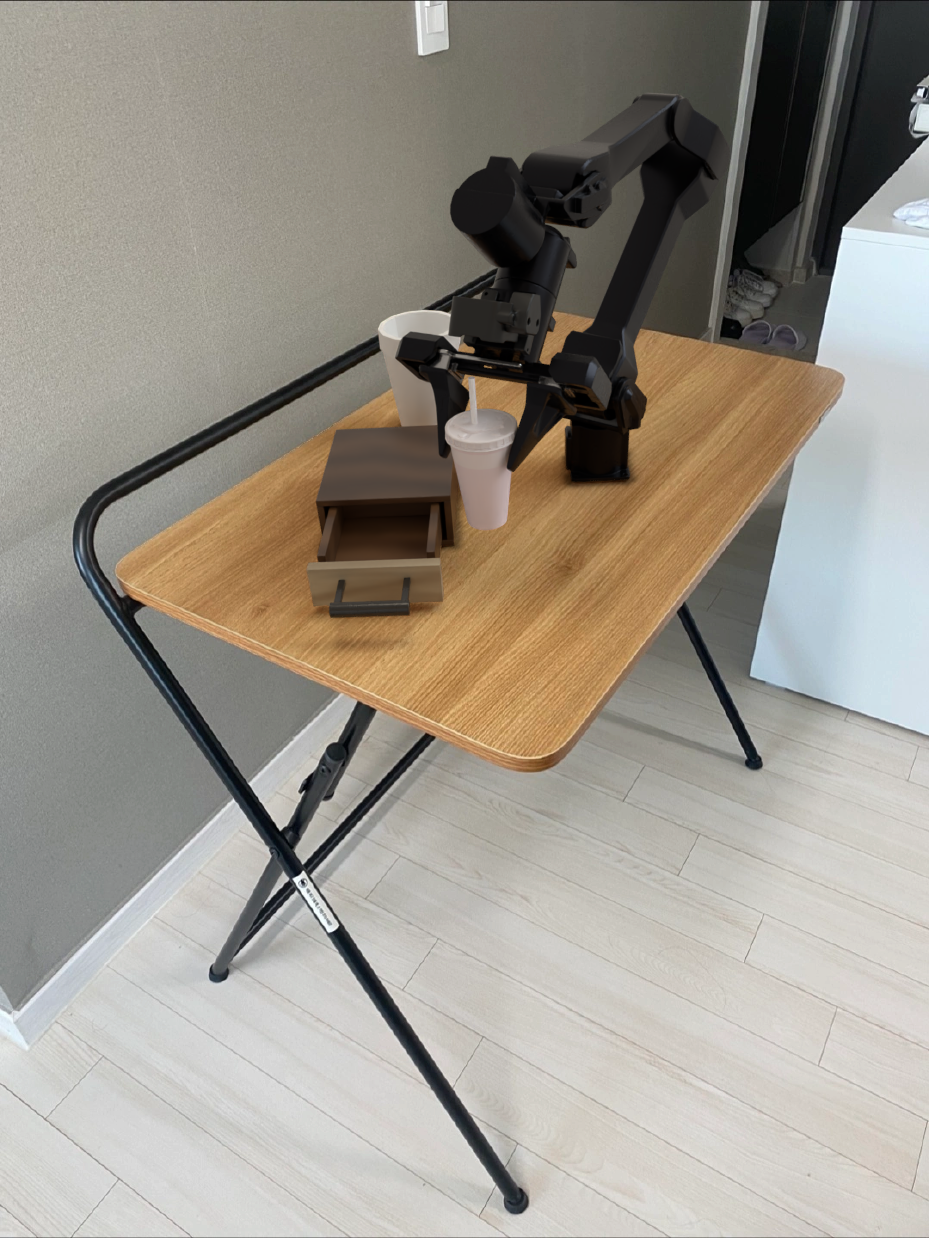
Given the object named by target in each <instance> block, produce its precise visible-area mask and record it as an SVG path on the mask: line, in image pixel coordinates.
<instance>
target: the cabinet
mask: <svg viewBox="0 0 929 1238" xmlns="http://www.w3.org/2000/svg"><path fill="white" fill-rule="evenodd" d="M458 491H459V482H458V477H457V473H456V468H455V464H454V460H453V456H452V451H450V453H449V455H448V457H447V458H446V459H445V458H442V457H441V456H440V455H439V450H438V431H437V425H427V426H405V427H402V426H388V427H387V426H385V427H361V428H342V429H341V428H340V429H339V428H338V429H335V432H334V435H333V439H332V443H331V446H330V449H329V453H328V456H327V460H326V464H325V466H324V470H323V474H322V477H321V481H320V484H319V488H318V492H317V494H316V499H315V506H316V511H317V517H318V522H319V528H320V533H321V536H322V535H323V531H324V527H325V523H326V519H327V516H328V512H329V508H330V506H348V505H374V504H399V503H424V502H442V506H443V529H442V541H441V547H445V546H446V547H447V546H448V547H450V546H455V541H456V526H457V511H458V510H457V509H458V494H459V492H458Z"/></svg>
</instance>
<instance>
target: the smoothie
mask: <svg viewBox="0 0 929 1238" xmlns="http://www.w3.org/2000/svg"><path fill="white" fill-rule="evenodd" d="M467 380H468V381H467V382H468V384H467V385H468V391H469V397H470V399H469V409H468V410H466V411H465V412H462V413H459V414H457V415H455V416H453V417H452V418H451V419H450V420H449V421H448V422H447V423H446V425H445V439H446V441H447V443H448V444H449V445H450V446H451V451H452V456H453V460H454V464H455V468H456V473H457V477H458V487H459V491H460V494H461V495H460V496H461V500H462V503H463V508H464V512H465V516H466V521H467V524H468V525H469V526H470V527H471V528H473V529H475V530H480V531H494V530H496V529H499V528H501V527H502V526H504V525H505V524H506V523H507V521H508V513H509V503H510V502H509V501H510V493H511V482H512V472H510V471H509V470H508V469H507V463H508V458H509V453H510V449H511V446H512V443H513V441H514V438H515V435H516V432H517V429H518V426H519V424H518V420H517V419H516V418H515V416H514V415H512V414H511V413H509V412H507V411H505V410H501V409H497V408H478V406H477V391H476V390H477V389H476V376H471V375H469V376H468V377H467Z"/></svg>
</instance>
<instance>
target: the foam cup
mask: <svg viewBox="0 0 929 1238" xmlns="http://www.w3.org/2000/svg"><path fill="white" fill-rule="evenodd" d="M450 316H451V313H448V312H446V311H443V310H429V309H420V310H410V311H404V312H400V313H398V314H394V315H391V316H389V317H387V318H386V319H384V320H382V321H381V322H380V323H379V326H378V328H377V334H378V343H379V350H380V351H381V352H382V355H383V357H384V363H385V367H386V370H387V375H388V378H389V382H390V387H391V390H392V394H393V398H394V402H395V407H396V410H397V414H398V418H399V423H400V425H401V426H400V427H405V426H427V425H437V412H436V403H435V397H434V392H433V389H432V386H431V383H430V382H425V381H423V380H420V379H418V378H417V377H416V376H415V375H414V374H412V373H411V372H410V371H409V370H408V369H407V368H406V367H404V366H403V365H402V364H401V363H400V362H399V361H398V360H396V359H395V356H396V352H397V349H398V346H399V342H400V340H401V339H402V338H403V337H404V336H405V335H406V334H408V333H409V332H410V331H412V332H419V333H426V334H433V335H440V336H444V337H445V338H446V339H447V340H448V341H449V343H450V344H451V345H452V346H453V347H454V348H455V349H456V350H457V351H459V348H460V343H461V340H462V339H461V337H454V336H449V335H448V333H449V324H450Z"/></svg>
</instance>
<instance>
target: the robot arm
mask: <svg viewBox="0 0 929 1238" xmlns="http://www.w3.org/2000/svg"><path fill="white" fill-rule="evenodd" d="M730 148H731V147H730V145H729V143H728V141H727V139H726V137H725V135H724V133H723V132H722V130H721V128H720V126H719V125H717V123H715V122H714V121H712V120H711V119H709V118H708V117H706V116H704V115H703V114H702V113H700V112H698V111H697V110H696V109H694V107H693V106H692V104H691V102H690V99H688V98H687V97H683V96H682V95H681V94H678V93H661V92H643V93H642V94H638V95H636V96H635V97H634V99H633V100H632V103H631V104H630V105H629V106H628V107H626V108H625V109H623V111H620V112H619V113H618V114H616V115H615V116H613V117H612V118H611V119H609V120H607V121H606V123H604V124H602V125H601V126H599V127H598V128H597V129H595V130H594V131H592V132H591V133H589V134H588V135H587V136H586V137H584V138H583V139H581V140H579V141H576V142H573V143H563V144H556V145H550V146H546V147H544V148H541V149H538V150H535V151H533V152H531V153H530V154H529V155H528V156H526V158H525V159H524V160H523V162H522V164H521V167H520V168H519V166H518V164H517V163H516V161H515V160H514V159H513V158H512V157H511V156H500V155H490V156H489V159H488V161H487V164H486V166H485V167H483V168H481V169H479V170H477V171H475V172H473V173H472V174H471V175H469V176H468V177H467V178H466V179H465V180H464V181H463V182H462V183H461V184H460V186H459V187H458V188H456V189H455V190H454V192H453V194H452V197H451V201H450V205H449V207H450V208H449V214H450V220H451V222H452V224H453V225H454V227H455V228H456V229H457V230H458V231H459V232H460V234H462V235H463V237H464V238H465V239H466V240H467V241H468V242H469V243H470V244H471V245H472V247H473V248H474V249H475V250H476V251H477V252H478V253H479V254H480V255H481V257H483V259H484V260H485V261H486V262H488V264H490V265H492V266H493V267H496V268H497V271H496V273H495V274H496V275H495V277H494V282H493V285H492V287H489V286H485V287H484V289H483V291H482V293H481V296H480V298H475V297H466V296H459V295H458V296H456V295H453V296H452V300H451V308H450V314H451V316H450V324H449V333H448V335H449V336H454V337H460V338H461V337H463V339H462V342H463V343H464V344H465V346H466V347H469V348H472V349H474V350H473V352H467V351H462V350H461V351H460V350H458V351H457V350H456V349H455V348H454V347H453V346H452V345H451V344H450V343H449V341H448V340H447V339H446V338H445V337H444V336H440V335H433V334H426V333H419V332H412V331H410V332H409V333H408V334H406V335H405V336H404V337H403V338H402V339H401V340H400V342H399V346H398V349H397V352H396V356H395V359H396V360H398V361H399V362H400V363H401V364H402V365H403V366H404V367H406V368H407V369H408V370H409V371H410V372H411V373H412V374H414V375H415V376H416V377H417V378H418V379H420V380H423V381H425V382H430V383H431V386H432V389H433V392H434V397H435V403H436V412H437V431H438V450H439V455H440V456H441V457H442V458H445V459H446V458H447V457H448V455H449V453H450V451H451V446H450V445H449V444H448V443H447V441H446V439H445V425H446V423H447V422H448V421H449V420H450V419H451V418H452V417H453V416H455V415H457V414H459V413H462V412H465V411H467V408H468V405H469V403H470V397H469V389H467V388H466V387H465V385H463V382H464V379H465V376H473V377H478V378H485V379H491V380H497V381H502V382H510V383H515V384H523V385H526V386H525V387H526V389H525V391H526V392H525V404H524V408H523V412H522V414H521V417H520V421H519V423H518V429H517V432H516V435H515V438H514V441H513V443H512V446H511V449H510V453H509V458H508V463H507V469H508V470H509V471H510V472H511V473H514V472H516V471H517V469H518V468H519V467H520V466H521V465H522V463H523V462H524V461H525V460H526V459H527V457H528V456H529V455H530V454H531V453H532V451H534V449H535V448H536V446H537V445H538V444H539V443H540V442H541V441H542V439H544V437H545V436H546V435H547V434H548V433H549V432H550V431H551V430H552V429H553V428H554V427H555V426H556V425H557V424H558V423H559V422H560V421H561V420H562V419H565V420H569V425H566V426H565V427H564V465H565V470H567V471H569V475H570V481H571V482H573V483H586V482H588V483H589V482H591V483H592V482H609V481H610V482H611V481H612V482H613V481H617V482H618V481H628V480H630V479H631V472H630V467H629V452H630V449H629V447H630V431H633V430H639V429H640V428H641V427H642V420H643V419H644V417H645V413H646V411H647V403H648V397H647V396H646V395H645V394H644V392H643V391H642V390H641V388H640V387H639V386H638V385H637V384H636V382H637V379H638V376H639V370H638V369H639V368H638V365H637V358H636V352H635V344H636V340H637V339H638V336H639V333H640V331H641V328H642V326H643V324H644V321H645V319H646V316H647V313H648V311H649V309H650V306H651V304H652V301H653V299H654V296H655V294H656V292H657V290H658V287H659V285H660V282H661V281H662V278H663V275H664V272H665V270H666V268H667V265H668V263H669V260H670V258H671V256H672V253H673V252H674V251H673V250H674V249H675V245H676V243H677V241H678V238H679V236H680V234H681V231H682V229H683V226H684V224H685V222H686V221H687V220H688V219H689V218H691V217H692V216H693V215H695V213H697V212H698V211H700V210H701V209H702V208H703V207H705V206H706V205H707V204H708V203H709V202H710V201H711V199H712V197H713V194H714V193H715V191H716V189H717V187H718V185H719V183H720V181H721V180H722V179H723V178H724V176H726V173H727V170H728V168H729V164H730V157H731V149H730ZM638 167H639V171H638V172H639V173H638V175H639V179H640V183H641V184H640V185H641V191H642V195H643V196H642V197H643V199H642V202H641V205H640V207H639V210H638V212H637V215H636V217H635V219H634V222H633V224H632V227H631V229H630V232H629V234H628V236H627V239H626V242H625V243H624V246H623V248H622V251H621V253H620V256H619V258H618V261H617V263H616V265H615V268H614V270H613V272H612V275H611V278H610V280H609V282H608V285H607V286H606V287H607V288H606V289H605V292H604V294H603V297H602V299H601V302H600V304H599V306H598V309H597V312H596V313H595V316H594V318H593V320H592V323H591V325H590V326H588V327H587V328H586V329H584V331H579V330H578V331H577V330H571V331H570V332H569V333H567V334H568V335H566V337H565V338H564V342H563V346H562V348H561V351H557V352H556V353H555V354H554V355H553V356H552V357H551V359H550V362H549V364H548V363H543V362H542V361H541V356H542V352H543V349H544V345H545V342H546V339H547V335H548V333H554V331H555V327H556V323H557V320H556V318H554V316H553V314H554V310H555V308H556V304H557V300H558V297H559V293H560V289H561V286H562V283H563V281H564V280H563V279H564V276H565V272H566V270H567V269H571V270H574V269H576V268H577V267H578V260H577V254H576V252H575V251H574V250H573V248H572V245H571V244H572V243H571V238H570V237H569V236H564V235H563V234H562V233H561V231H560V230H559V229H557V228H556V227H555V226H564V227H570V228H577V229H582V230H583V229H585V230H586V229H587V230H588V229H589V228H591V227H593V226H594V225H595V224H596V222H598V220H599V219H600V218H601V217H602V216H603V214H604V213H605V212H606V211H607V210H608V208H609V207H610V206H611V205H612V202H613V198H612V197H613V196H612V190H613V188H614V187H615V186H616V185H617V184H618V183H619V182H620V181H622V180H623V179H625V177H627V176H628V175H630V174H631V173H632V172H633V171H635V170H636V169H638ZM553 225H554V226H553Z"/></svg>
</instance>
